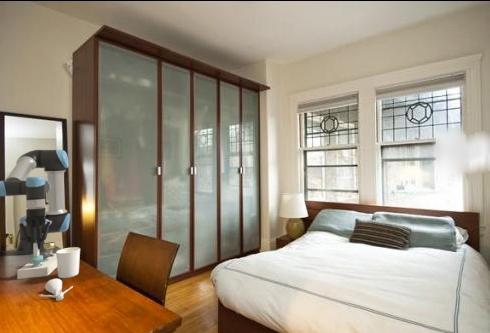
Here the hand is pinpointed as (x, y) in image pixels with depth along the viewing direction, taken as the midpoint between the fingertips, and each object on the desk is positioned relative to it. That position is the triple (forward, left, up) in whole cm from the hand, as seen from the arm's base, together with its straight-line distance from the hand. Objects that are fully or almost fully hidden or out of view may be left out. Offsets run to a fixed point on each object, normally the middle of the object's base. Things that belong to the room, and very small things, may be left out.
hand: (36, 255), depth 134 cm
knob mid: (-8, +2, -8) cm, 11 cm away
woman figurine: (+32, +9, -9) cm, 35 cm away
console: (-8, +2, -9) cm, 12 cm away
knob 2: (-15, +4, -5) cm, 17 cm away
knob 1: (0, 0, -7) cm, 7 cm away
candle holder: (+11, +13, -9) cm, 20 cm away
